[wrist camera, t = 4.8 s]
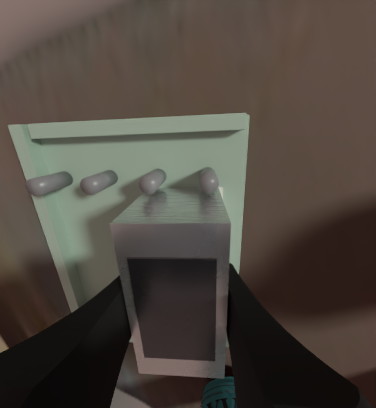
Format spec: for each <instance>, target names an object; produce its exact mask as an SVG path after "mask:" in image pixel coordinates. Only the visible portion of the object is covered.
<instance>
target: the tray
mask: <svg viewBox="0 0 376 408" xmlns="http://www.w3.org/2000/svg"><path fill="white" fill-rule="evenodd" d="M249 117H250V115H246V113H233V114H213V115H194V116H174V117H155V118H135V119H116V120H96V121H77V122H57V123H38V124H27V125H22V124H18V125H8V127H9V130H10V133H11V136H12V139H13V142H14V145H15V148H16V151H17V154H18V157H19V160H20V163H21V166H22V169H23V172H24V175H25V178H26V181H27V182H26V189H27V190H28V192H29V193H30V194H31V195H32V198H33V201H34V204H35V207H36V210H37V213H38V216H39V219H40V222H41V225H42V228H43V231H44V234H45V237H46V240H47V243H48V246H49V248H50V251H51V254H52V257H53V260H54V263H55V266H56V269H57V272H58V275H59V278H60V281H61V284H62V287H63V290H64V293H65V296H66V299H67V302H68V305H69V308H70V311H71V313H72V312H74V311H75V310H76V309H78V308H79V307H81V306H82V305H84V304H85V303H86V302H88V301H89V300H90V299H92V298H93V297H94V296H95V295H97V294H98V293H99V292H100V291H102V290H103V289H104V288H105V287H107V286H108V285H109V284H110V283H111V282H112V281H113V280H115V279H116V278H117V277H118V276H119V275H120V274H119V269H118V264H117V259H116V254H115V248H114V243H113V238H112V233H111V228H110V223H111V222H112V221H113V220H114V219H115V218H116V217H118V216H119V215H120V214H121V213H122V212H123V211H124V210H125V209H126V208H127V207H129V206H130V205H131V204H132V203H133V202H134V201H135V200H136V199H137V198H138V197H140V196H141V195H142V194H143V193H146V194H153V193H155V192H156V190H157V189H158V188H185V187H200V188H201V190H202V191H203V192H205V193H213V192H215V191H216V190H217V188H219V191H220V193H221V196H222V199H223V202H224V205H225V207H226V210H227V213H228V216H229V219H230V221H231V237H230V260H229V263H231V264H232V265H233V266H234V268H235V269H236V271H237V273H238V274H239V266H240V251H241V236H242V221H243V206H244V191H245V176H246V161H247V147H248V132H249ZM129 342H133V340H132V336H131V339H130V341H129ZM226 347H229V343H228V338H227V333H226Z"/></svg>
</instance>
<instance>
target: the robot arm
mask: <svg viewBox="0 0 376 408" xmlns="http://www.w3.org/2000/svg"><path fill="white" fill-rule="evenodd" d="M226 333H227V338H228V343H229V349H230V354H231V361H232V369H233V378H234V387H235V396H236V405H237V408H372V407H371V405H370V404H369V403H368V401H367V400H366V399H365V397H364V396H363V395H362V393H361V392H360V390H359V389H358V387H356V386H355V385H354V384H352V383H351V382H350V381H348V380H347V379H345V378H344V377H343V376H341V375H340V374H339V373H337V372H336V371H335V370H333V369H332V368H331V367H329V366H328V365H326V364H325V363H324V362H323V361H321V360H320V359H319V358H318V357H316V356H315V355H314V354H313V353H311V352H310V351H309V350H308V349H306V348H305V347H304V346H303V345H302V344H301V343H300V342H299V341H297V340H296V339H295V338H294V337H293V336H292V335H291V334H290V333H288V332H287V331H286V330H285V329H284V328H283V327H282V326H281V325H280V324H279V323H278V322H277V321H276V320H275V319H274V318H273V317H272V316H271V315H270V314H269V313H268V311H267V310H266V309H265V308H264V307H263V306H262V305H261V303H260V302H259V301H258V300H257V299H256V298H255V296H254V295H253V294H252V292H251V291H250V290H249V288H248V287H247V286H246V284H245V283H244V282H243V280H242V279H241V277H240V276H239V274H238V273H237V271H236V269H235V268H234V266H233V265H232V264H231V263H229V283H228V306H227V330H226ZM131 336H132V335H131V330H130V325H129V320H128V314H127V309H126V304H125V299H124V294H123V289H122V284H121V279H120V275H119V276H118V277H117V278H116V279H115V280H113V281H112V282H111V283H110V284H109V285H108V286H107V287H105V288H104V289H103V290H102V291H100V292H99V293H98V294H97V295H95V296H94V297H93V298H92V299H90V300H89V301H88V302H86V303H85V304H84V305H82V306H81V307H79V308H78V309H76V310H75V311H74V312H72V313H71V314H69V315H68V316H66V317H64V318H63V319H61V320H60V321H58V322H56V323H55V324H53V325H51V326H50V327H48V328H47V329H45V330H43V331H41V332H40V333H38V334H36V335H34V336H32V337H31V338H29V339H27V340H25V341H23V342H21V343H19V344H17V345H15V346H13V347H11V348H9V349H7V350H5V351H3V352H1V353H0V408H110V405H111V401H112V397H113V394H114V390H115V387H116V383H117V379H118V376H119V372H120V369H121V366H122V362H123V359H124V355H125V352H126V350H127V347H128V344H129V341H130V339H131Z"/></svg>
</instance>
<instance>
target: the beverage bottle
mask: <svg viewBox="0 0 376 408" xmlns="http://www.w3.org/2000/svg"><path fill="white" fill-rule="evenodd" d="M201 399H202V403H201V404H202V405H201V406H202V408H237V405H236V396H235V387H234V378H233V377H224V379H221V378H217V379H214V380H212V381H211V382H209V383H208V384H207V385H206V386H205V388H204V392H203V396H202V398H201Z"/></svg>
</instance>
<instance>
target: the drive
mask: <svg viewBox="0 0 376 408" xmlns="http://www.w3.org/2000/svg"><path fill="white" fill-rule="evenodd" d="M110 228H111V233H112V238H113V243H114V248H115V254H116V259H117V264H118V269H119V274H120V279H121V284H122V289H123V294H124V299H125V304H126V309H127V314H128V320H129V325H130V330H131V335H132V340H133V345H134V350H135V355H136V360H137V365H138V370H139V373H141V374H157V375H173V376H189V377H205V378H221V379H224V376H225V353H226V330H227V306H228V283H229V260H230V237H231V221H230V219H229V216H228V213H227V210H226V207H225V205H224V202H223V199H222V196H221V193H220V191H219V188H217V190H216V191H215V192H213V193H205V192H203V191H202V190H201V188H200V187H185V188H158V189H157V190H156V192H155V193H153V194H146V193H143V194H142V195H141V196H140V197H138V198H137V199H136V200H135V201H134V202H133V203H132V204H131V205H130V206H129V207H127V208H126V209H125V210H124V211H123V212H122V213H121V214H120V215H119V216H118V217H116V218H115V219H114V220H113V221H112V222H111V223H110Z"/></svg>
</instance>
